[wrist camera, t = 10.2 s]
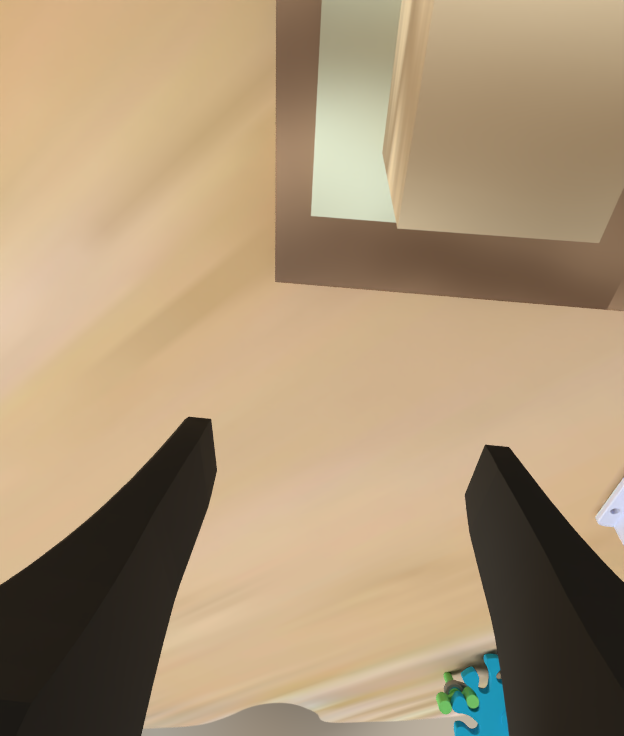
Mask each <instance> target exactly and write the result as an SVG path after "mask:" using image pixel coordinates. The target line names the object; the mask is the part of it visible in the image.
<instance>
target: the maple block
mask: <svg viewBox="0 0 624 736" xmlns="http://www.w3.org/2000/svg"><path fill="white" fill-rule="evenodd" d="M382 154H383V159H384V164H385V169H386V174H387V179H388V184H389V189H390V194H391V199H392V204H393V209H394V214H395V219H396V224H397V229H411V230H425V231H438V232H452V233H466V234H480V235H493V236H507V237H521V238H535V239H549V240H562V241H576V242H590V243H599V242H600V240H601V238H602V235H603V233H604V231H605V229H606V226H607V224H608V222H609V220H610V217H611V215H612V213H613V211H614V208H615V206H616V204H617V202H618V199H619V197H620V195H621V193H622V190H623V188H624V0H402V2H401V10H400V18H399V25H398V33H397V41H396V49H395V57H394V65H393V72H392V80H391V88H390V96H389V104H388V111H387V119H386V127H385V135H384V143H383V151H382Z"/></svg>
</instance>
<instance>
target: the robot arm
mask: <svg viewBox="0 0 624 736" xmlns="http://www.w3.org/2000/svg"><path fill="white" fill-rule="evenodd" d="M216 472H217V466H216V458H215V449H214V440H213V431H212V422H211V419H206V418H195V417H188V418H186V419H185V420H184V421H183V422H182V424H181V425H180V426H179V427H178V428H177V429H176V431H175V432H174V433H173V434H172V435H171V436H170V438H169V439H168V440H167V441H166V442H165V443H164V444H163V446H162V447H161V448H160V449H159V450H158V451H157V452H156V453H155V454H154V456H153V457H152V458H151V459H150V460H149V461H148V462H147V463H146V464H145V465H144V466H143V467H142V468H141V469H140V470H139V471H138V472H137V473H136V474H135V476H134V477H133V478H132V479H131V480H130V481H129V482H128V483H127V484H126V485H124V486H123V487H122V488H121V489H120V490H119V491H118V492H117V493H116V494H115V495H114V496H113V497H112V498H111V499H110V500H109V501H108V502H107V503H106V504H105V505H103V506H102V507H101V508H100V509H99V510H98V511H97V512H96V513H95V514H93V515H92V516H91V517H90V518H89V519H88V520H86V521H85V522H84V523H83V524H82V525H81V526H79V527H78V528H77V529H76V530H75V531H73V532H72V533H71V534H70V535H68V536H67V537H66V538H65V539H63V540H62V541H61V542H59V543H58V544H57V545H56V546H54V547H53V548H52V549H50V550H49V551H48V552H46V553H45V554H44V555H43V556H41V557H40V558H39V559H37V560H36V561H34V562H33V563H32V564H30V565H29V566H28V567H26V568H25V569H23V570H22V571H20V572H19V573H18V574H16V575H15V576H13V577H12V578H10V579H9V580H7V581H6V582H4V583H3V584H1V585H0V736H141V734H142V729H143V725H144V721H145V716H146V712H147V708H148V704H149V699H150V695H151V691H152V686H153V682H154V678H155V674H156V670H157V666H158V662H159V658H160V654H161V650H162V646H163V642H164V638H165V635H166V631H167V627H168V623H169V619H170V616H171V612H172V608H173V604H174V601H175V598H176V595H177V592H178V589H179V585H180V583H181V580H182V577H183V574H184V572H185V569H186V566H187V564H188V561H189V558H190V555H191V553H192V550H193V547H194V545H195V542H196V539H197V536H198V534H199V531H200V528H201V525H202V523H203V520H204V517H205V514H206V511H207V509H208V506H209V502H210V498H211V494H212V490H213V485H214V481H215V477H216ZM465 500H466V509H467V518H468V525H469V532H470V537H471V541H472V545H473V549H474V553H475V557H476V561H477V565H478V569H479V573H480V577H481V581H482V585H483V589H484V592H485V596H486V600H487V604H488V608H489V612H490V616H491V620H492V625H493V630H494V634H495V640H496V646H497V653H498V659H499V666H500V672H501V679H502V686H503V693H504V701H505V708H506V716H507V723H508V732H509V736H624V582H623V581H622V580H621V579H620V578H619V577H618V576H617V575H616V574H615V573H614V572H613V571H612V570H611V569H610V568H609V567H608V566H607V565H606V564H605V563H604V562H603V561H602V560H601V559H600V557H599V556H598V555H597V554H596V553H595V552H594V551H593V550H592V549H591V548H590V546H589V545H588V544H587V543H586V542H585V541H584V540H583V539H582V538H581V536H580V535H579V534H578V533H577V532H576V531H575V530H574V528H573V527H572V526H571V525H570V524H569V522H568V521H567V520H566V519H565V518H564V516H563V515H562V514H561V513H560V512H559V510H558V509H557V508H556V507H555V505H554V504H553V503H552V502H551V501H550V499H549V498H548V497H547V496H546V494H545V493H544V492H543V490H542V489H541V488H540V487H539V485H538V484H537V483H536V481H535V480H534V479H533V478H532V476H531V475H530V474H529V472H528V471H527V470H526V468H525V467H524V466H523V465H522V463H521V462H520V461H519V459H518V458H517V457H516V456H515V454H514V453H513V452H512V450H511V449H510V448H509V447H503V446H492V445H485V446H484V449H483V451H482V454H481V456H480V459H479V461H478V464H477V466H476V468H475V471H474V473H473V476H472V478H471V481H470V483H469V486H468V488H467V491H466V493H465ZM595 518H596V520H597V522H598V524H599V525H602V526H609V527H614V528H615V530H616V532H617V534H618V536H619V538H620V540H621V542H622V544H623V546H624V477H623V479H622V480H621V482H620V483H619V484H618V486H617V487H616V489H615V490H614V491H613V493H612V494H611V496H610V497H609V498H608V500H607V501H606V503H605V504H604V505H603V507H602V508H601V509H600V511H599V512H598V514H597V515H596V517H595Z"/></svg>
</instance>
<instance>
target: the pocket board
mask: <svg viewBox="0 0 624 736" xmlns="http://www.w3.org/2000/svg"><path fill="white" fill-rule="evenodd" d="M401 2H402V0H276V245H275V282H283V283H295V284H306V285H318V286H330V287H342V288H354V289H366V290H378V291H390V292H402V293H414V294H426V295H438V296H450V297H461V298H473V299H485V300H497V301H509V302H521V303H533V304H545V305H557V306H569V307H581V308H593V309H604V310H616V311H624V188H623V190H622V193H621V195H620V197H619V199H618V202H617V204H616V206H615V208H614V211H613V213H612V215H611V217H610V220H609V222H608V224H607V226H606V229H605V231H604V233H603V235H602V238H601V240H600V242H599V243H590V242H576V241H562V240H549V239H535V238H521V237H507V236H493V235H480V234H466V233H452V232H438V231H425V230H411V229H397V224H396V219H395V214H394V209H393V204H392V199H391V194H390V189H389V184H388V179H387V174H386V169H385V164H384V159H383V154H382V151H383V143H384V135H385V127H386V119H387V111H388V104H389V96H390V88H391V80H392V72H393V65H394V57H395V49H396V41H397V33H398V25H399V18H400V10H401Z"/></svg>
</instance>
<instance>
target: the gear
mask: <svg viewBox="0 0 624 736" xmlns="http://www.w3.org/2000/svg"><path fill="white" fill-rule="evenodd" d="M484 662H485V664H486V666H487V668H488V672H489V679H488V685H487V687H485V688H480V687H478V684H479V676H478V674H477V672H476V670H475V669H474V668H473V667H468V668H466V669H465V670H463V671H462V672H461V676H462V678H463V680H464V682H465V683H463V682H459V681H456V680H453V678H452V675H451V673H449V672H446V673H444V679H445V681H446V684H445V686H444V692H440V693H438V694H437V696H436V700H437V703H438V706H439V709H440V711H441V712H442V713H443V714H449V713H450V712H451V710H452V709H453V710H454V711H455V712H457V713H463V714H466V715H469V716H471V717H472V718H473V719H474V720H476V721H477V723H478V725H477V727H476V728H474V729H471V728H469V727H468V726H467V725H466V724H465V723H463V722H461V721H455V723H454V732H455V736H509V732H508V723H507V716H506V708H505V701H504V693H503V686H502V679H497V678H496V675H497V673H498V672H499V671H500V666H499V659H498V655H497V654H485V655H484Z"/></svg>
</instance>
